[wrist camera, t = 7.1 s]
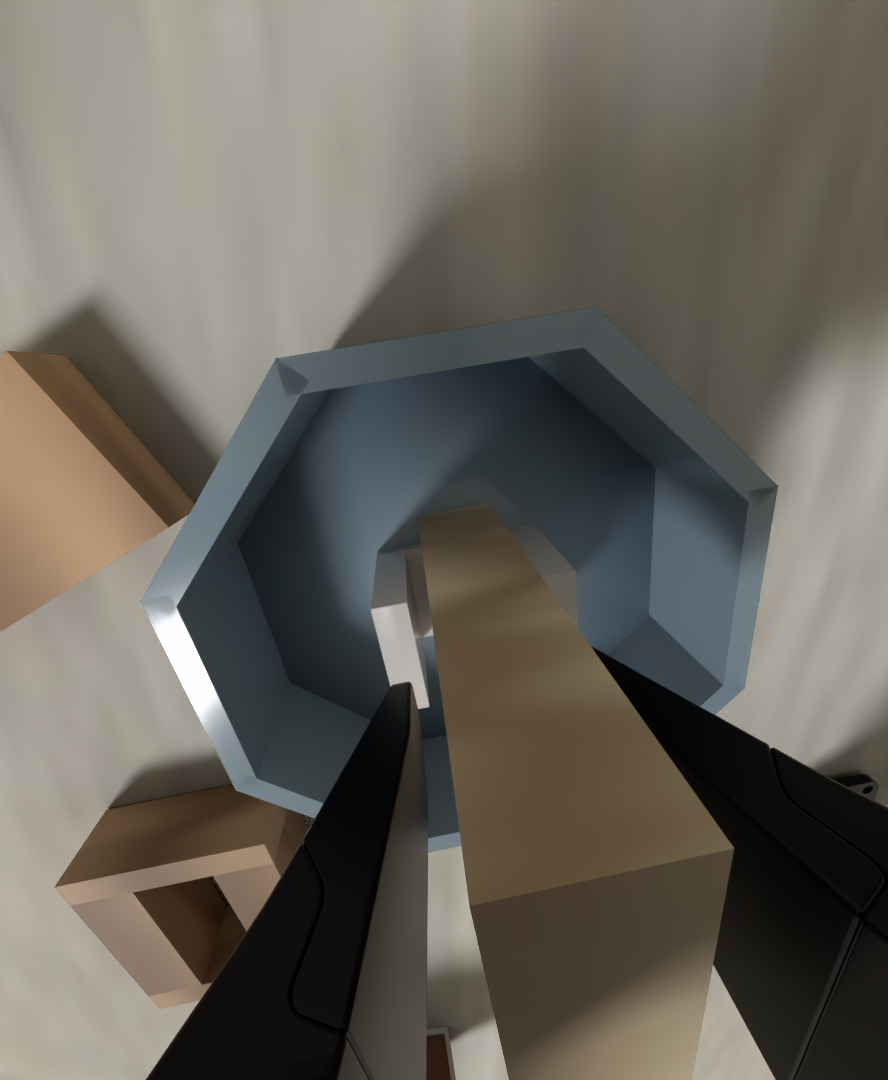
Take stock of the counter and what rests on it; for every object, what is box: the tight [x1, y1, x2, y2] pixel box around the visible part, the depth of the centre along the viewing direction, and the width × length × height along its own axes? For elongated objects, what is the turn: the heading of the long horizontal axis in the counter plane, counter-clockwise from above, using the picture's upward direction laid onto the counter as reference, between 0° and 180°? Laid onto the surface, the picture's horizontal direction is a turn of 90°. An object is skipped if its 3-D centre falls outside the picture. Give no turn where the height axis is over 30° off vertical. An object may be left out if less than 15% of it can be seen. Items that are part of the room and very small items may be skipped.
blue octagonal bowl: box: [140, 306, 778, 852], centre depth 11 cm, size 13×13×4 cm
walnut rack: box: [54, 785, 308, 1009], centre depth 16 cm, size 7×8×2 cm
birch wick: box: [417, 503, 734, 1080], centre depth 8 cm, size 2×4×9 cm, turn 9°
